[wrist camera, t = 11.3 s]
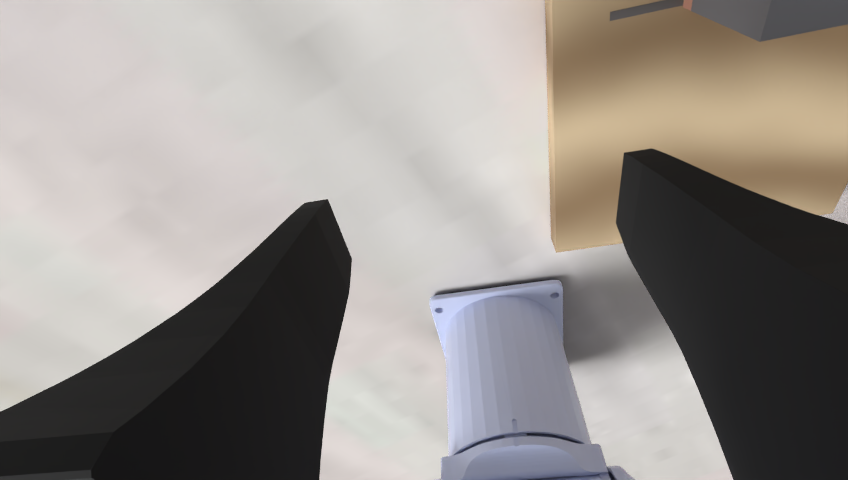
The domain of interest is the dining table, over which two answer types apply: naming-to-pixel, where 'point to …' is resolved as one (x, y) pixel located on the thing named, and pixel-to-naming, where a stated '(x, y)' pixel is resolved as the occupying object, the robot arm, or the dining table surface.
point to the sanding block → (772, 15)
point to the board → (687, 108)
